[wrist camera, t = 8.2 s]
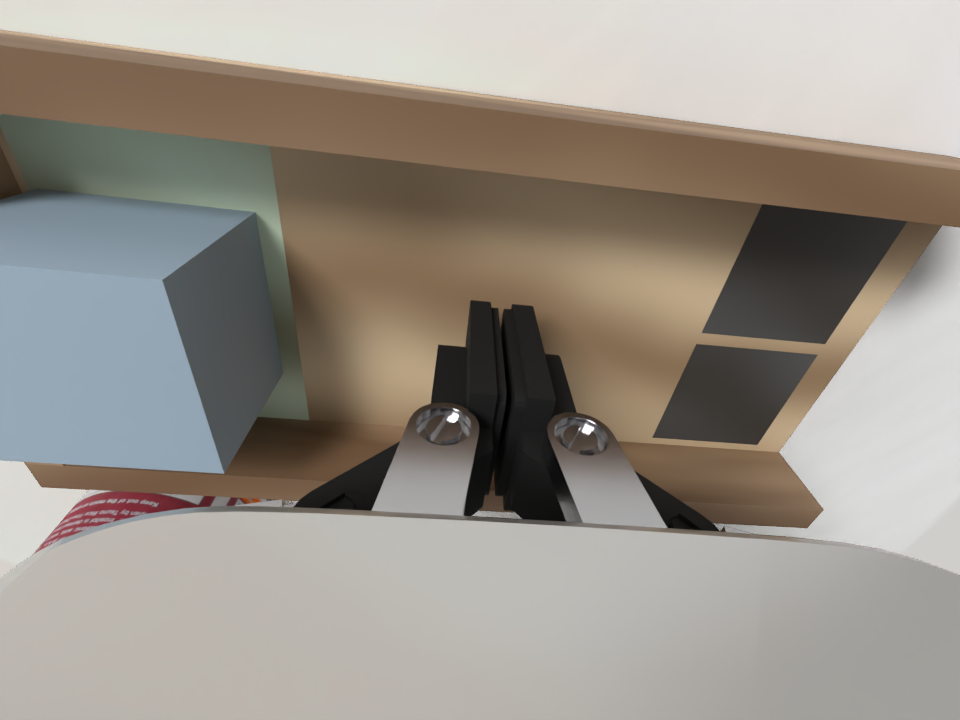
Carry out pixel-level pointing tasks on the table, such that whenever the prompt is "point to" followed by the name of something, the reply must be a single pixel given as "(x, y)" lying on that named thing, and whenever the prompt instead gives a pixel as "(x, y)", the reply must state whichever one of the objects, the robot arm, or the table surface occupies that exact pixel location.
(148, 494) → the pill bottle
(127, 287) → the block
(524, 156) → the box
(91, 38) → the table surface
